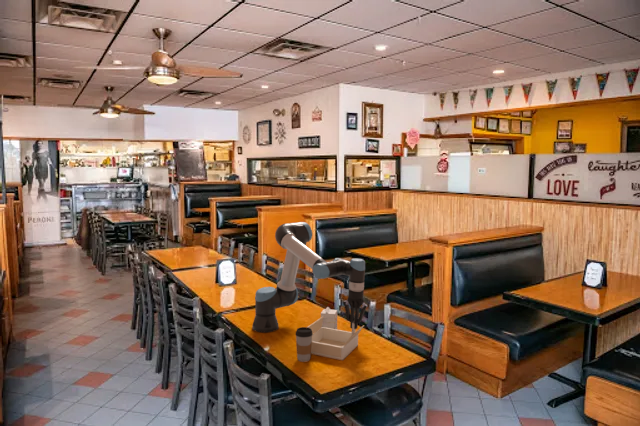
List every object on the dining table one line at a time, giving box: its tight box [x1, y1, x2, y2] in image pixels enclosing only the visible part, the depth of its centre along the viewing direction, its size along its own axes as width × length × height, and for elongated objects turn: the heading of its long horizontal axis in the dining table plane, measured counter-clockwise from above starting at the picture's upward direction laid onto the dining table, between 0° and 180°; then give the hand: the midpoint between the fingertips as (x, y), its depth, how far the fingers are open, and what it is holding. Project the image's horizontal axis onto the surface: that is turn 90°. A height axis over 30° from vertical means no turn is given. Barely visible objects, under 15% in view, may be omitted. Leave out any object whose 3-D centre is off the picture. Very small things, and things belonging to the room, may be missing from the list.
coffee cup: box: [295, 326, 312, 363], centre depth 223 cm, size 8×8×15 cm
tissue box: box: [320, 306, 338, 330], centre depth 262 cm, size 9×8×13 cm
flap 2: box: [344, 325, 365, 347], centre depth 231 cm, size 6×19×1 cm
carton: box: [311, 327, 359, 361], centre depth 237 cm, size 21×22×6 cm
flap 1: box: [307, 316, 323, 334], centre depth 240 cm, size 6×19×1 cm
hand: (353, 334), depth 231 cm, fingers closed
